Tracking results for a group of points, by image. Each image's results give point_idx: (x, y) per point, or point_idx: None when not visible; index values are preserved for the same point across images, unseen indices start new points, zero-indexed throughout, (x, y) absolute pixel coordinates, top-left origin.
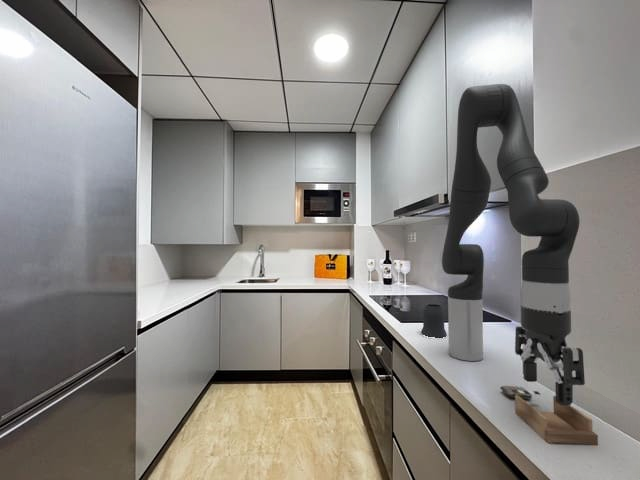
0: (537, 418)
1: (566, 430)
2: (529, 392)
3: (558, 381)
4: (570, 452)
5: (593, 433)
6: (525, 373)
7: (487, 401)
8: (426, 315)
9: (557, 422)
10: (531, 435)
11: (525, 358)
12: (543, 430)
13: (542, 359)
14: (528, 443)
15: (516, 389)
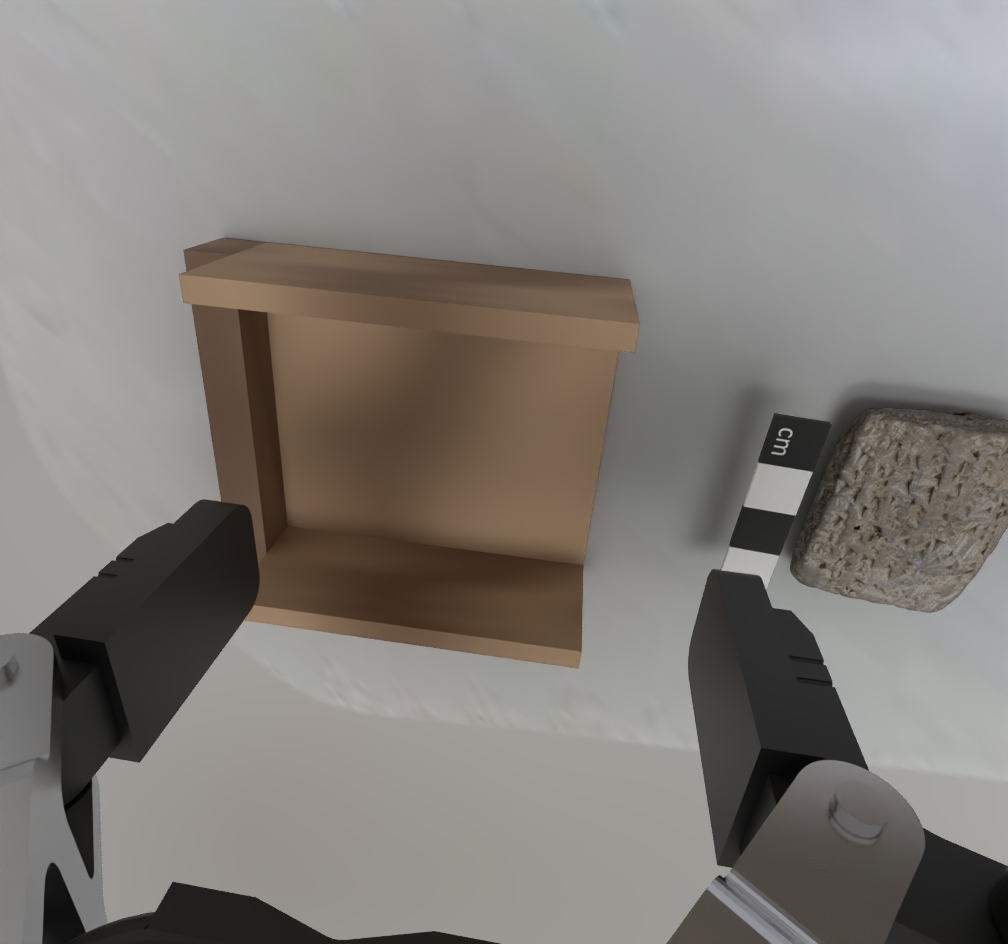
0: (294, 273)
1: (367, 471)
2: (745, 552)
3: (10, 651)
4: (155, 312)
5: None
6: (733, 624)
7: (893, 137)
8: None
9: (460, 491)
10: (314, 177)
11: (767, 824)
12: (246, 253)
13: (263, 923)
14: (203, 62)
15: (899, 523)
